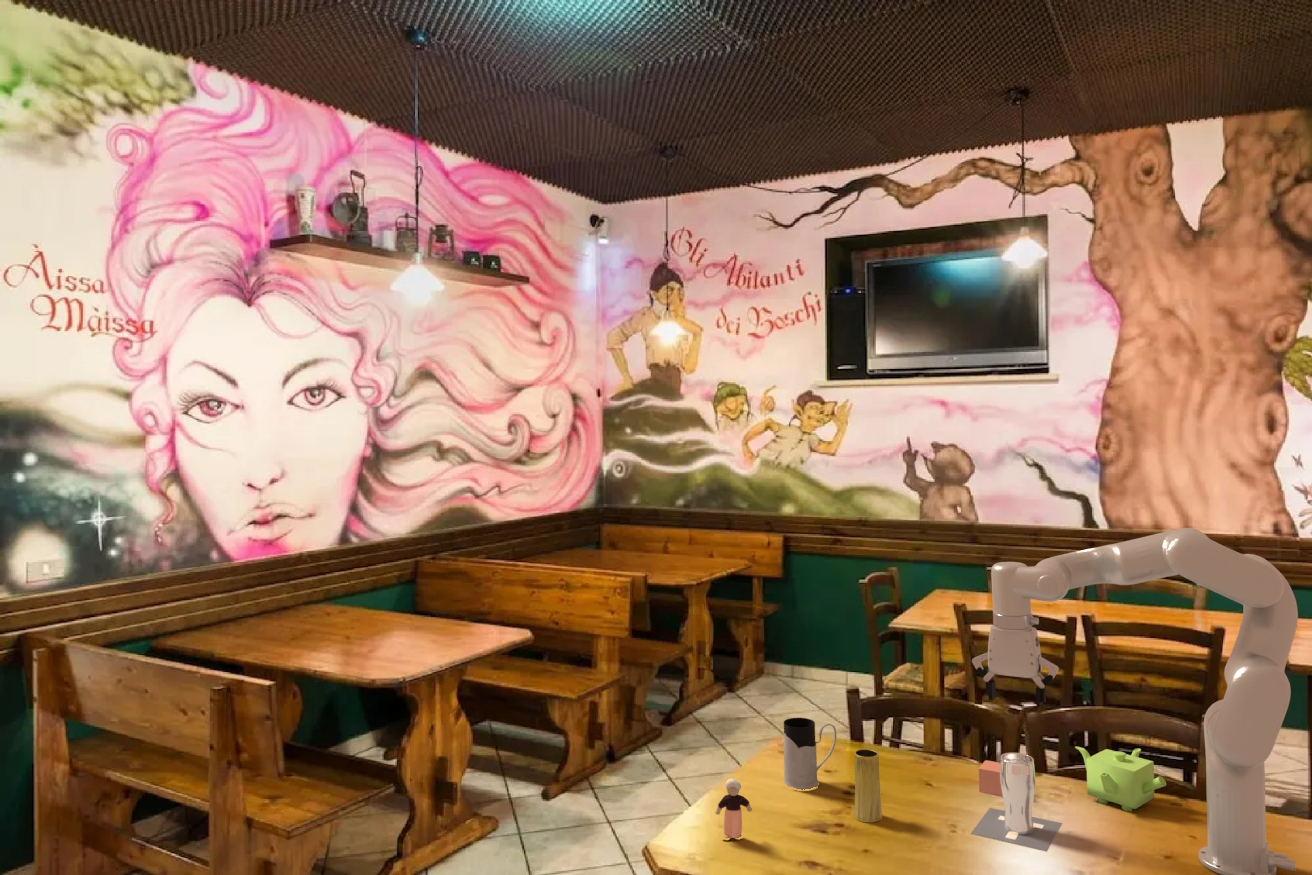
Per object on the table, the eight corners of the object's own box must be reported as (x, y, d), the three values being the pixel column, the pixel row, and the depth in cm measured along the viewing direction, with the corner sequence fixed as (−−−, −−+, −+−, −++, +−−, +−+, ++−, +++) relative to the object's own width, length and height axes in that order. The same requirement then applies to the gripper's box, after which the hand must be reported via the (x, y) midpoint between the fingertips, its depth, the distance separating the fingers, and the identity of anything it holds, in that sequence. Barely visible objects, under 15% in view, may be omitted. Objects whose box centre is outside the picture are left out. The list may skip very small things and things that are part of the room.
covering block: (1012, 790, 212) (1012, 764, 212) (1006, 799, 207) (1005, 773, 207) (986, 785, 216) (985, 760, 216) (979, 794, 211) (978, 768, 211)
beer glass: (1039, 836, 188) (1038, 764, 187) (1004, 834, 189) (1002, 763, 189) (1032, 822, 194) (1031, 752, 194) (998, 820, 196) (996, 751, 195)
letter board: (1062, 824, 194) (1062, 822, 194) (1046, 853, 181) (1046, 851, 181) (989, 809, 202) (989, 807, 202) (970, 835, 190) (970, 833, 190)
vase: (850, 820, 199) (849, 755, 199) (858, 809, 204) (856, 746, 204) (878, 825, 196) (876, 759, 196) (885, 813, 202) (883, 750, 201)
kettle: (1075, 788, 212) (1074, 740, 212) (1138, 789, 211) (1137, 741, 211) (1100, 815, 197) (1099, 764, 197) (1168, 816, 196) (1167, 765, 196)
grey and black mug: (776, 780, 222) (774, 719, 222) (828, 771, 227) (826, 712, 226) (792, 793, 214) (790, 730, 214) (846, 784, 218) (844, 722, 218)
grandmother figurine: (720, 844, 189) (719, 784, 189) (714, 836, 193) (713, 777, 193) (755, 839, 191) (753, 779, 191) (748, 831, 195) (746, 772, 195)
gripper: (1060, 621, 189) (1063, 702, 189) (975, 614, 199) (979, 692, 199) (1052, 628, 183) (1055, 713, 183) (965, 621, 193) (969, 701, 193)
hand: (1015, 702), depth 191 cm, fingers open, 9 cm apart
